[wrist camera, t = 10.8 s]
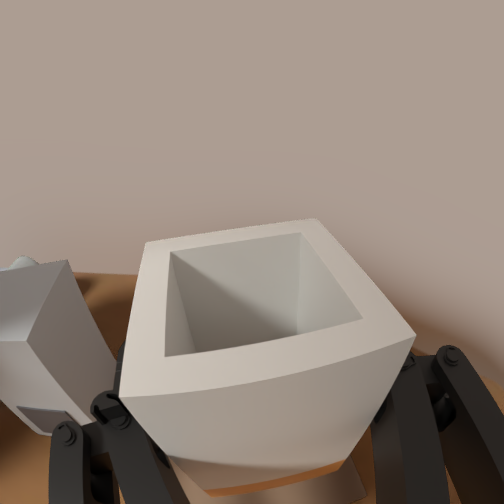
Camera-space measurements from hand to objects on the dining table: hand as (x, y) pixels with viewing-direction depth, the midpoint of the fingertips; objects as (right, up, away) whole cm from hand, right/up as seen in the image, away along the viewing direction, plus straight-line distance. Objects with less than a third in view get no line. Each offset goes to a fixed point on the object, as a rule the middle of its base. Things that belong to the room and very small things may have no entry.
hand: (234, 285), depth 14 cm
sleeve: (+1, -8, -1) cm, 8 cm away
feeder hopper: (-15, -12, +6) cm, 20 cm away
